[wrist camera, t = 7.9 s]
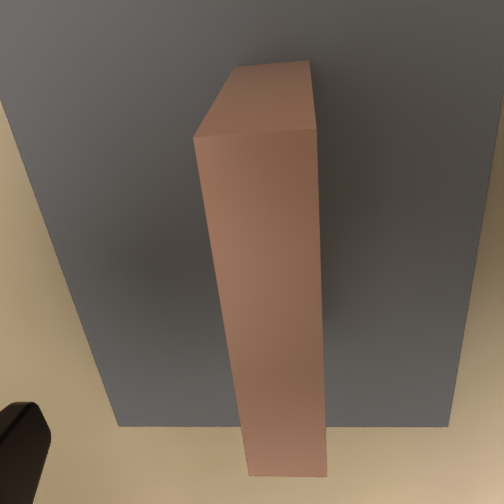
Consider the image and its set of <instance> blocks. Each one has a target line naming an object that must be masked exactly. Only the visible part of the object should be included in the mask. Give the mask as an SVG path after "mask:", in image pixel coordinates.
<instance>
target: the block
mask: <svg viewBox="0 0 504 504" xmlns="http://www.w3.org/2000/svg"><path fill="white" fill-rule="evenodd" d="M193 140H194V146H195V152H196V159H197V165H198V171H199V177H200V183H201V189H202V195H203V201H204V207H205V213H206V219H207V225H208V231H209V237H210V243H211V249H212V255H213V261H214V267H215V273H216V279H217V285H218V291H219V297H220V303H221V309H222V315H223V322H224V328H225V334H226V340H227V346H228V352H229V358H230V364H231V370H232V376H233V382H234V388H235V394H236V400H237V406H238V412H239V418H240V424H241V430H242V436H243V442H244V448H245V454H246V460H247V466H248V472H249V476H289V477H327V460H326V426H325V393H324V359H323V326H322V292H321V259H320V225H319V192H318V158H317V127H316V118H315V109H314V100H313V91H312V81H311V72H310V63H309V60H304V61H292V62H281V63H270V64H259V65H248V66H237V67H234V68H233V70H232V72H231V74H230V75H229V77H228V79H227V80H226V82H225V84H224V85H223V87H222V89H221V91H220V92H219V94H218V96H217V97H216V99H215V101H214V102H213V104H212V106H211V108H210V109H209V111H208V113H207V114H206V116H205V118H204V119H203V121H202V123H201V125H200V126H199V128H198V130H197V131H196V133H195V135H194V136H193Z"/></svg>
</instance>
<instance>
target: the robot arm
mask: <svg viewBox="0 0 504 504" xmlns="http://www.w3.org/2000/svg"><path fill="white" fill-rule="evenodd" d="M50 443H51V432H50V429H49V427H48V425H47V422H46V420H45V418H44V416H43V414H42V412H41V410H40V408H39V406H38V405H37V404H36V403H34V402H14V403H11V404H10V405H8V406H7V407H5V408H4V409H3V410H1V411H0V504H33V501H34V497H35V494H36V490H37V487H38V484H39V480H40V477H41V474H42V470H43V467H44V464H45V460H46V457H47V454H48V450H49V447H50Z"/></svg>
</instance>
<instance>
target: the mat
mask: <svg viewBox="0 0 504 504" xmlns="http://www.w3.org/2000/svg"><path fill="white" fill-rule="evenodd" d="M304 60H309V63H310V72H311V81H312V91H313V100H314V109H315V118H316V127H317V158H318V192H319V225H320V259H321V292H322V326H323V359H324V393H325V426H326V427H448V425H449V419H450V413H451V407H452V401H453V395H454V389H455V383H456V377H457V371H458V365H459V359H460V353H461V347H462V341H463V335H464V329H465V323H466V317H467V311H468V305H469V299H470V293H471V287H472V281H473V275H474V268H475V262H476V256H477V250H478V244H479V238H480V232H481V226H482V220H483V214H484V208H485V202H486V196H487V190H488V184H489V178H490V172H491V166H492V160H493V154H494V148H495V142H496V136H497V130H498V124H499V118H500V112H501V106H502V100H503V94H504V0H0V100H1V103H2V106H3V108H4V111H5V114H6V117H7V119H8V122H9V125H10V128H11V130H12V133H13V136H14V139H15V141H16V144H17V147H18V150H19V152H20V155H21V158H22V161H23V163H24V166H25V169H26V172H27V175H28V177H29V180H30V183H31V186H32V188H33V191H34V194H35V197H36V199H37V202H38V205H39V208H40V210H41V213H42V216H43V219H44V221H45V224H46V227H47V230H48V233H49V235H50V238H51V241H52V244H53V246H54V249H55V252H56V255H57V257H58V260H59V263H60V266H61V268H62V271H63V274H64V277H65V279H66V282H67V285H68V288H69V291H70V293H71V296H72V299H73V302H74V304H75V307H76V310H77V313H78V315H79V318H80V321H81V324H82V326H83V329H84V332H85V335H86V337H87V340H88V343H89V346H90V348H91V351H92V354H93V357H94V360H95V362H96V365H97V368H98V371H99V373H100V376H101V379H102V382H103V384H104V387H105V390H106V393H107V395H108V398H109V401H110V404H111V406H112V409H113V412H114V415H115V418H116V420H117V423H118V426H166V427H241V424H240V418H239V412H238V406H237V400H236V394H235V388H234V382H233V376H232V370H231V364H230V358H229V352H228V346H227V340H226V334H225V328H224V322H223V315H222V309H221V303H220V297H219V291H218V285H217V279H216V273H215V267H214V261H213V255H212V249H211V243H210V237H209V231H208V225H207V219H206V213H205V207H204V201H203V195H202V189H201V183H200V177H199V171H198V165H197V159H196V152H195V146H194V140H193V136H194V135H195V133H196V131H197V130H198V128H199V126H200V125H201V123H202V121H203V119H204V118H205V116H206V114H207V113H208V111H209V109H210V108H211V106H212V104H213V102H214V101H215V99H216V97H217V96H218V94H219V92H220V91H221V89H222V87H223V85H224V84H225V82H226V80H227V79H228V77H229V75H230V74H231V72H232V70H233V68H234V67H237V66H248V65H259V64H270V63H281V62H292V61H304Z"/></svg>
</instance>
